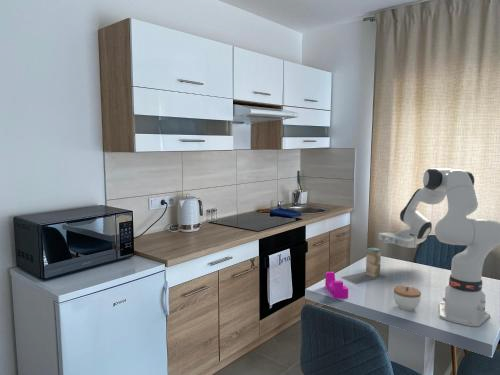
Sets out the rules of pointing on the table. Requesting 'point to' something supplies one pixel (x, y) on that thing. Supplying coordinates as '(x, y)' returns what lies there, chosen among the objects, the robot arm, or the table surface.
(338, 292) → the toy block
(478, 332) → the table surface
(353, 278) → the mat
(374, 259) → the tall block
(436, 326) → the table surface
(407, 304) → the lidded jar
